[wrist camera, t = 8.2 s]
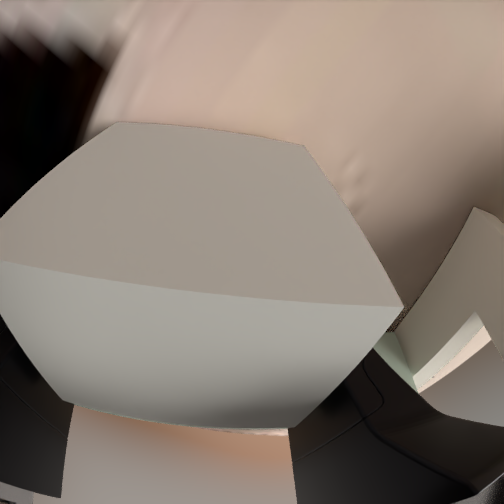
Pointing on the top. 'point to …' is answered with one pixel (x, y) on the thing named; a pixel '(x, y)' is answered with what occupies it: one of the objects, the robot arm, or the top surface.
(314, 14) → the top surface
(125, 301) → the gray stepped block
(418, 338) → the gate frame
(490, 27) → the top surface
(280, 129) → the top surface
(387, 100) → the top surface
